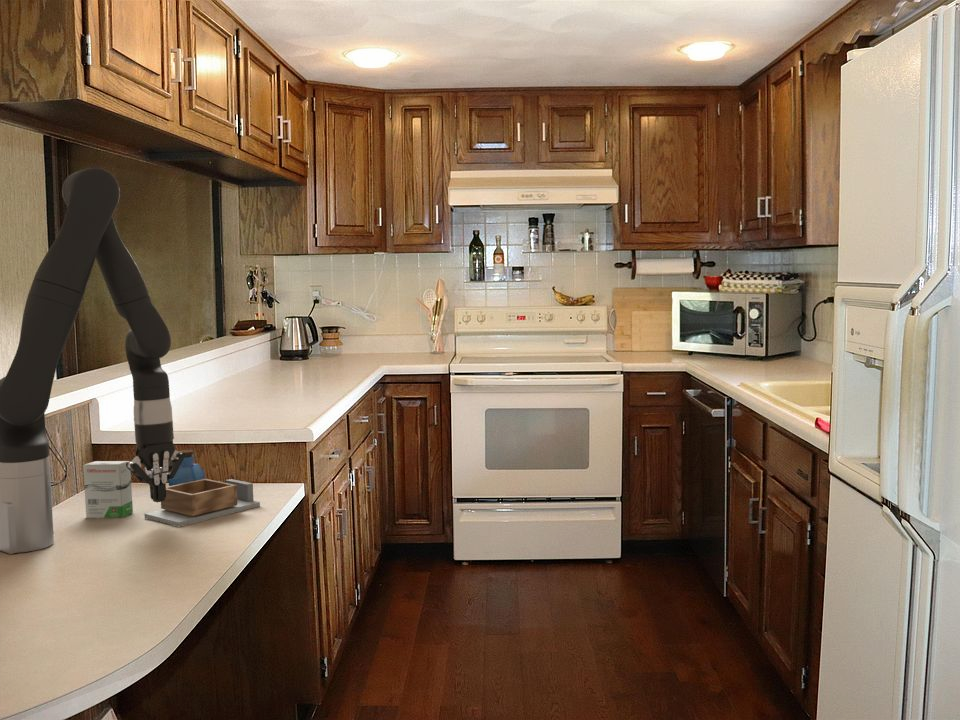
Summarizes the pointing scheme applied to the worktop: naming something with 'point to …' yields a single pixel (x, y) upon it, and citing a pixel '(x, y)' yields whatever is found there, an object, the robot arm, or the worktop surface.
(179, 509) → the box
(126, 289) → the robot arm
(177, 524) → the backstop board
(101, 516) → the ink box
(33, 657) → the worktop surface
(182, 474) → the perfume bottle
